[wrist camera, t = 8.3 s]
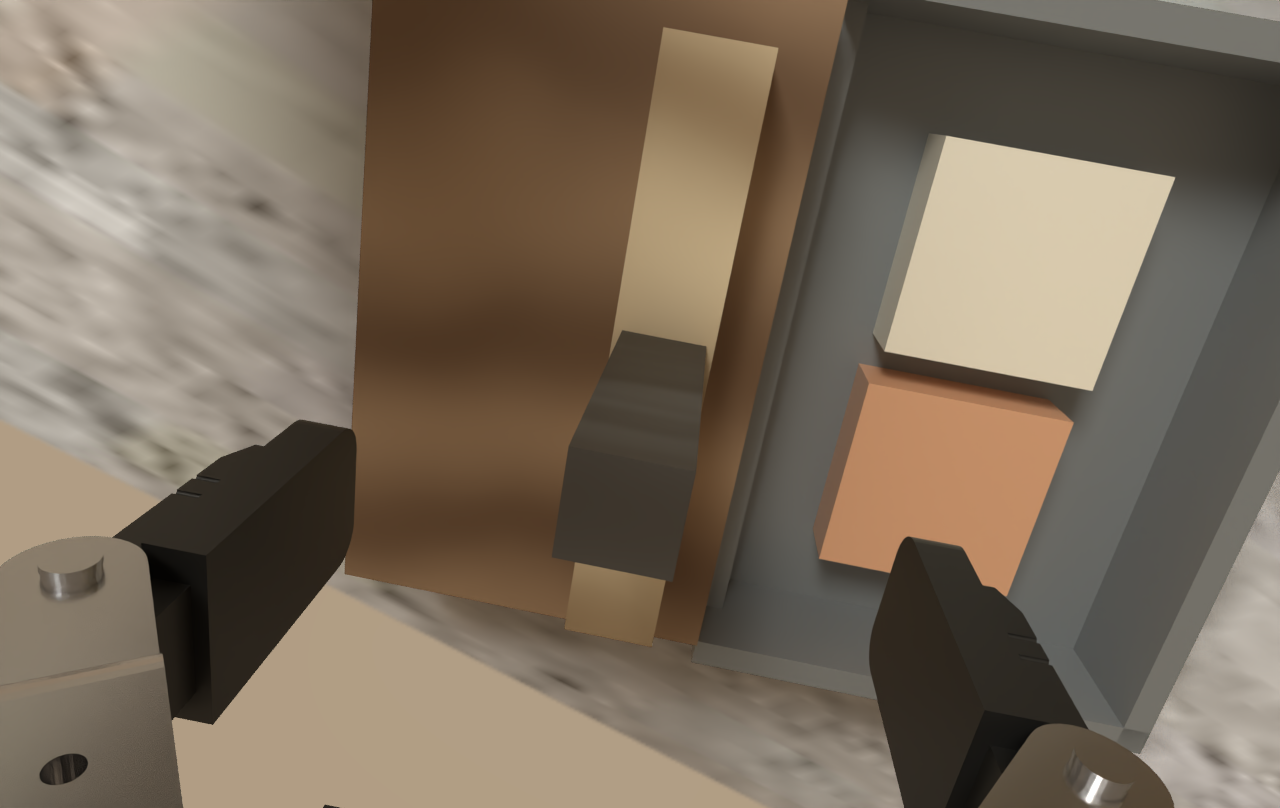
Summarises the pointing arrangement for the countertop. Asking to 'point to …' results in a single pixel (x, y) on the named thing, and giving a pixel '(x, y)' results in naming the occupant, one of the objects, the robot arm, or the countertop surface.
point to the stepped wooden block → (540, 276)
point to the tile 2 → (1017, 260)
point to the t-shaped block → (662, 336)
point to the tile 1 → (938, 472)
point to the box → (1103, 418)
